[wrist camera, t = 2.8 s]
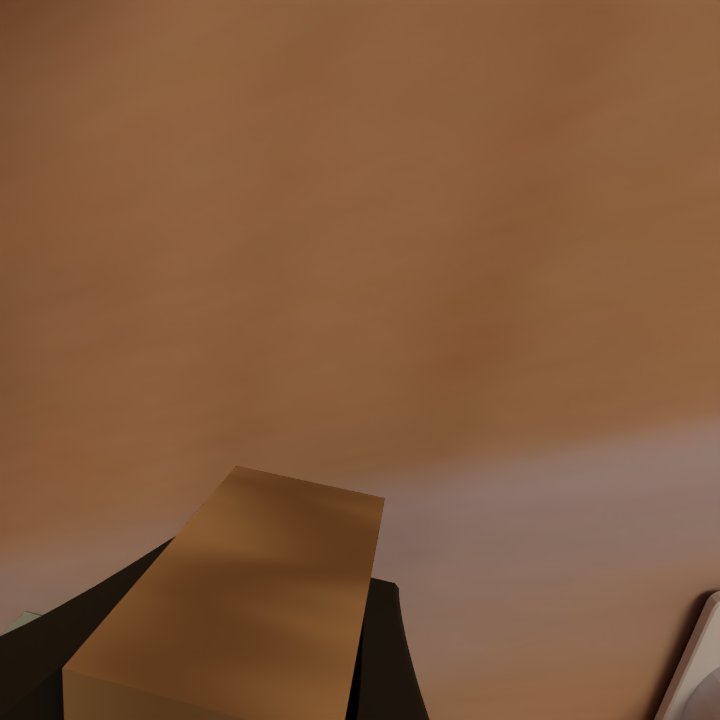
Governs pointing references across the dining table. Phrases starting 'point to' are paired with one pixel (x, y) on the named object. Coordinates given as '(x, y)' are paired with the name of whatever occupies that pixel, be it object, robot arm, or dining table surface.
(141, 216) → the dining table surface
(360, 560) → the walnut block
